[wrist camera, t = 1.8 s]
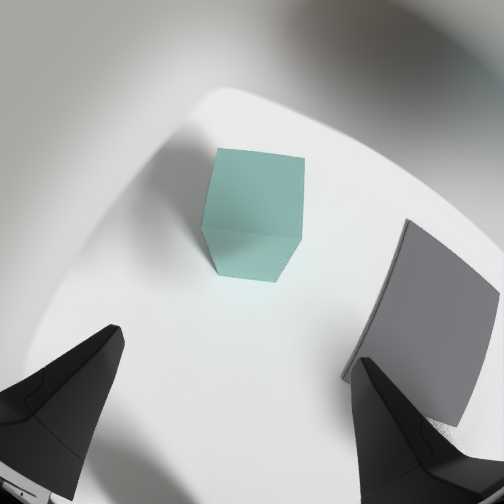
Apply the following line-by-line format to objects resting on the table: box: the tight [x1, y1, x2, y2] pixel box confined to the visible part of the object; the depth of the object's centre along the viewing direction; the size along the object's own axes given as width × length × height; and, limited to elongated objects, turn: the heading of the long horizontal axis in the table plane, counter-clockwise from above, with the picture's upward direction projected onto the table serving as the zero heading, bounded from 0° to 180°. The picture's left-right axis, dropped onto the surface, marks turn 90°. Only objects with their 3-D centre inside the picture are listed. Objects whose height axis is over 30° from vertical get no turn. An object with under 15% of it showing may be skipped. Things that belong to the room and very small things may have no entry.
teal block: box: [201, 148, 305, 282], centre depth 19 cm, size 5×5×11 cm
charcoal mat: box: [342, 220, 500, 427], centre depth 22 cm, size 18×18×1 cm
